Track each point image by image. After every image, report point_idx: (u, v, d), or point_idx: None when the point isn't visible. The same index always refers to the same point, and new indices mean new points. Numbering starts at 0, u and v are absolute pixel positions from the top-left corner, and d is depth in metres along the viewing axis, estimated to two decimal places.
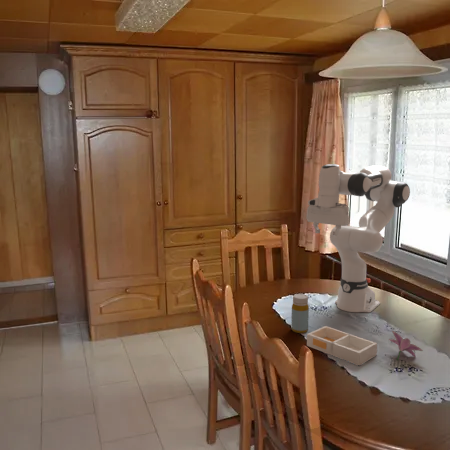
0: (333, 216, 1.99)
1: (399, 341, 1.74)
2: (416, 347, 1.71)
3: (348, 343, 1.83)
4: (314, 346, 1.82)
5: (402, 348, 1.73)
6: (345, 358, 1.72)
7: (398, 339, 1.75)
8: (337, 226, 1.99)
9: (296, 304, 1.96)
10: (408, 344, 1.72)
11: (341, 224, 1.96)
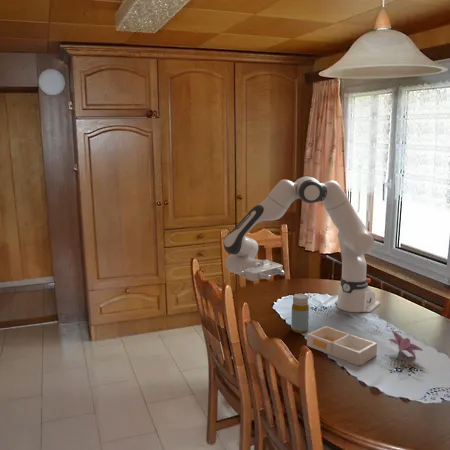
0: None
1: (399, 341, 1.75)
2: (416, 347, 1.71)
3: (348, 343, 1.83)
4: (314, 346, 1.82)
5: (402, 348, 1.73)
6: (345, 358, 1.72)
7: (398, 339, 1.75)
8: (260, 278, 2.05)
9: (296, 304, 1.96)
10: (408, 344, 1.72)
11: None
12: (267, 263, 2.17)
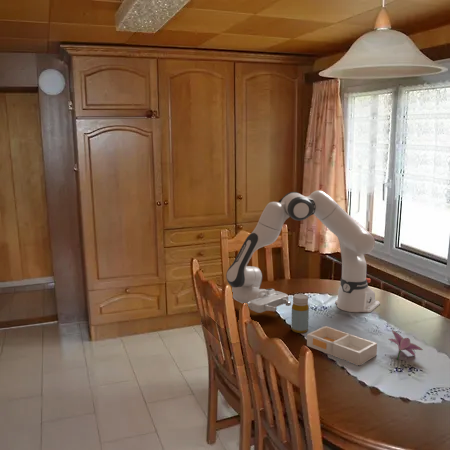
0: None
1: (399, 340, 1.75)
2: (416, 346, 1.72)
3: (348, 343, 1.83)
4: (314, 346, 1.82)
5: (402, 347, 1.74)
6: (345, 358, 1.72)
7: (398, 339, 1.75)
8: (266, 309, 2.05)
9: (296, 304, 1.96)
10: (408, 343, 1.72)
11: None
12: (273, 293, 2.17)
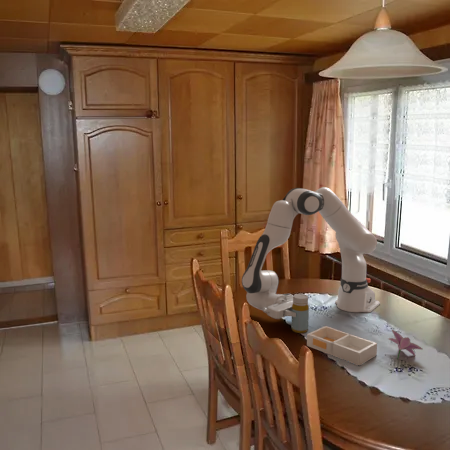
0: None
1: (399, 340, 1.75)
2: (416, 346, 1.72)
3: (348, 343, 1.83)
4: (314, 346, 1.82)
5: (402, 347, 1.74)
6: (345, 358, 1.72)
7: (398, 338, 1.75)
8: None
9: (296, 304, 1.96)
10: (408, 343, 1.73)
11: None
12: (290, 298, 2.09)
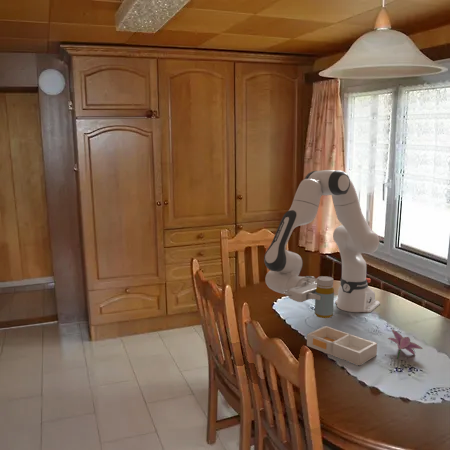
0: None
1: (399, 340, 1.76)
2: (416, 345, 1.72)
3: (348, 343, 1.83)
4: (314, 346, 1.82)
5: (402, 346, 1.74)
6: (345, 358, 1.72)
7: (398, 338, 1.76)
8: None
9: (320, 287, 1.81)
10: (408, 342, 1.73)
11: None
12: (313, 281, 1.94)
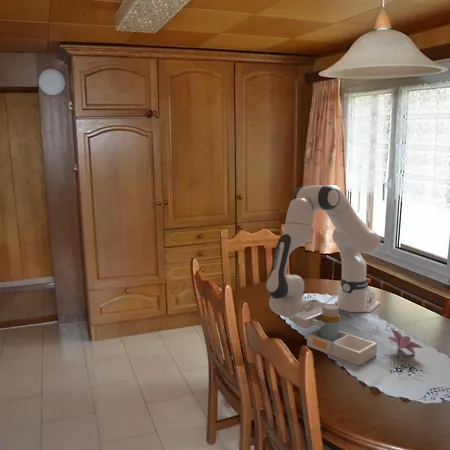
0: None
1: (398, 339, 1.76)
2: (416, 344, 1.73)
3: (348, 343, 1.83)
4: (314, 346, 1.82)
5: (402, 346, 1.75)
6: (345, 358, 1.72)
7: (398, 337, 1.76)
8: (313, 324, 1.81)
9: (326, 315, 1.81)
10: (408, 342, 1.74)
11: None
12: (318, 305, 1.93)
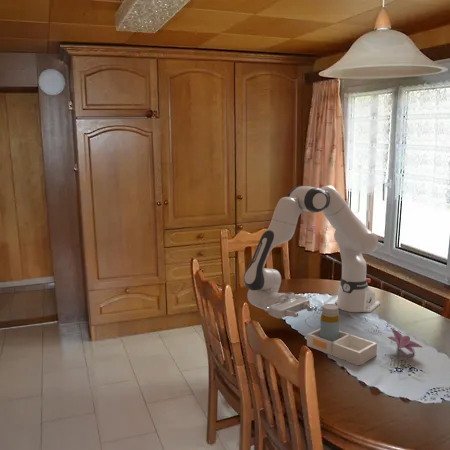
0: None
1: (398, 338, 1.77)
2: (415, 344, 1.74)
3: (348, 343, 1.83)
4: (314, 346, 1.82)
5: (402, 345, 1.75)
6: (345, 358, 1.72)
7: (398, 337, 1.77)
8: (286, 315, 1.91)
9: (326, 315, 1.81)
10: (408, 341, 1.74)
11: None
12: (293, 297, 2.03)
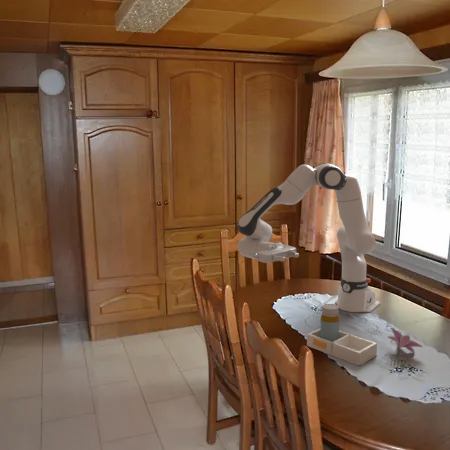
0: None
1: (398, 338, 1.77)
2: (415, 343, 1.74)
3: (348, 343, 1.83)
4: (314, 346, 1.82)
5: (401, 345, 1.76)
6: (345, 358, 1.72)
7: (397, 336, 1.77)
8: None
9: (326, 315, 1.81)
10: (407, 341, 1.74)
11: (267, 262, 2.00)
12: (280, 246, 2.12)
